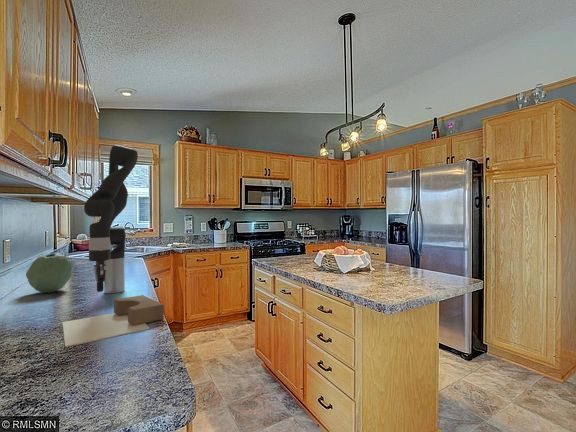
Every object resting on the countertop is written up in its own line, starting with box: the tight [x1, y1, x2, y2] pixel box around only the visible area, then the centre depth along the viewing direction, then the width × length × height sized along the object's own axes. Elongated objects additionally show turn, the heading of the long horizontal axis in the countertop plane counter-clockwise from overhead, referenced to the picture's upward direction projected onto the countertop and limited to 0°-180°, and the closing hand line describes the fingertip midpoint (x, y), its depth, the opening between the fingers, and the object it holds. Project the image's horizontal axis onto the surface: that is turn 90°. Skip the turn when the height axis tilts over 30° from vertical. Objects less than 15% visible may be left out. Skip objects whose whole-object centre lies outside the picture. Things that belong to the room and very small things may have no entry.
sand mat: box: [62, 312, 150, 348], centre depth 106 cm, size 26×23×1 cm
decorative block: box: [113, 294, 165, 326], centre depth 115 cm, size 11×6×20 cm
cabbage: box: [25, 251, 73, 294], centre depth 156 cm, size 16×19×20 cm
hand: (100, 291), depth 123 cm, fingers closed
